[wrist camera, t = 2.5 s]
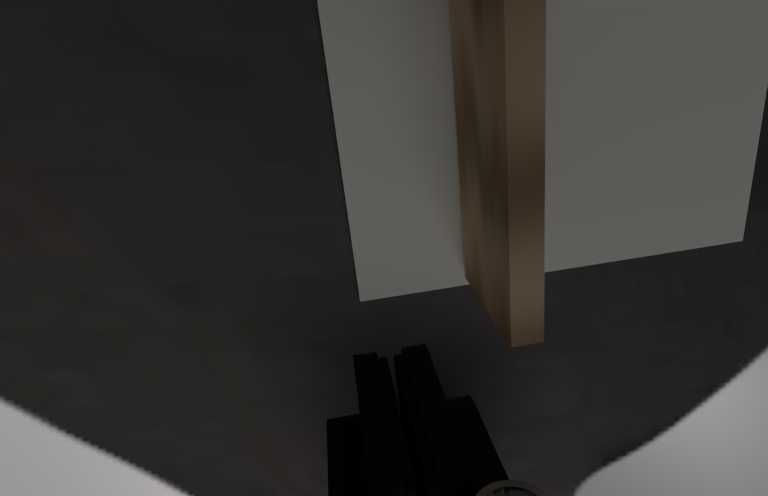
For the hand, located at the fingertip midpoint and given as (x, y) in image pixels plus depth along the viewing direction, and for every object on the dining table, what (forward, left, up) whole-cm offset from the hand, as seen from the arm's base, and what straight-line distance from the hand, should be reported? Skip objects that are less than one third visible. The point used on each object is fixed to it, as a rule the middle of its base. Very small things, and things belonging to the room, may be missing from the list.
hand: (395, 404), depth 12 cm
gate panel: (-3, +5, -12) cm, 13 cm away
